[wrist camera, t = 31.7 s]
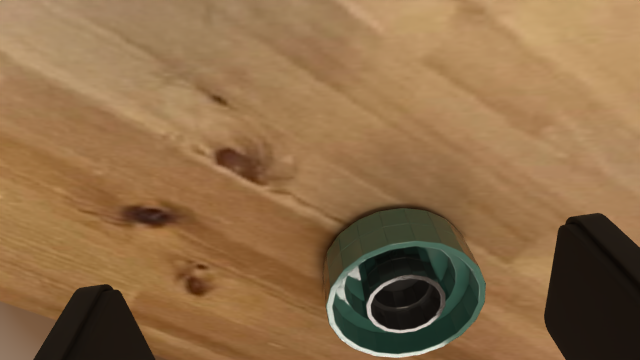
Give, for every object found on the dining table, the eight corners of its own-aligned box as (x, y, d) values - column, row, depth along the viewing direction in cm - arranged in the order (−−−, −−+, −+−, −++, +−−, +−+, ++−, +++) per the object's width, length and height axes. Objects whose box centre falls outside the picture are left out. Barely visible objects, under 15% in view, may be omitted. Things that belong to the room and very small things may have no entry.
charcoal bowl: (362, 298, 45) (370, 337, 41) (355, 244, 41) (362, 281, 37) (431, 288, 45) (445, 327, 40) (429, 234, 41) (445, 270, 37)
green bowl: (333, 322, 47) (337, 366, 43) (313, 216, 40) (315, 255, 35) (463, 304, 47) (481, 346, 42) (466, 194, 40) (489, 230, 35)
